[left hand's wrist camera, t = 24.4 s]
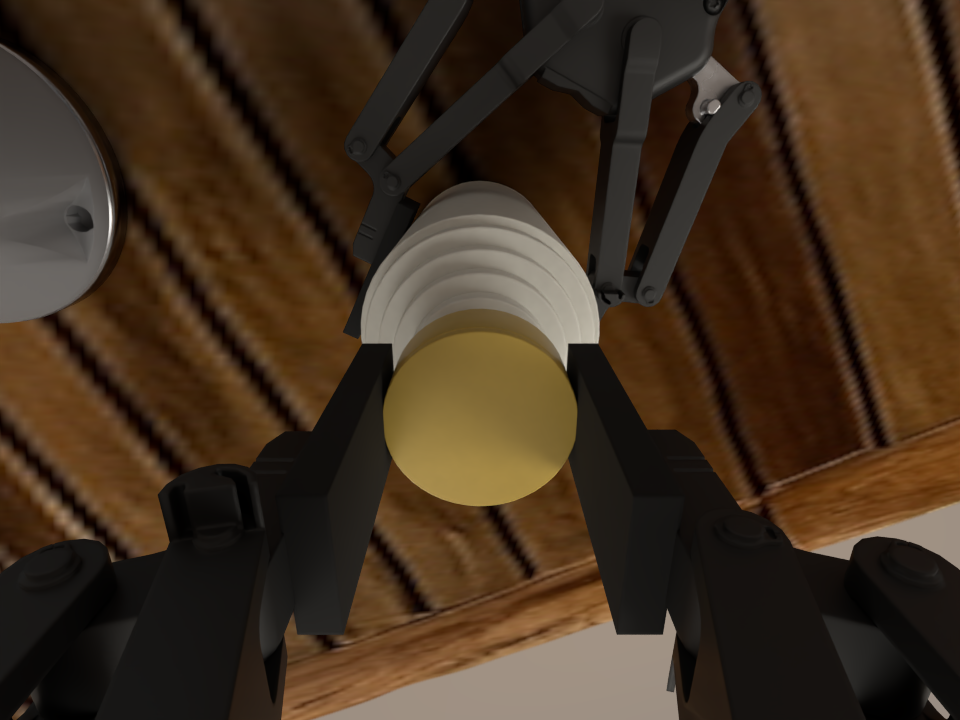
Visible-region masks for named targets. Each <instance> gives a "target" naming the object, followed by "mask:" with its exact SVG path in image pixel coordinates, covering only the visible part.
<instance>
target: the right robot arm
mask: <svg viewBox="0 0 960 720" xmlns="http://www.w3.org/2000/svg"><path fill="white" fill-rule="evenodd" d="M519 2H520V10H521V18H522V26H523V34H524V37H523V38H522V39H521V40H520V41H519V42H518V43H517V44H516V45H515V46H514V47H513V48H511V49H510V50H509V51H508V52H507V53H506V54H505V55H504V56H503V57H502V58H501V59H500V60H499V62H498V63H497V64H496V65H495V66H494V67H493V68H491V69H490V70H489V71H488V72H487V73H486V74H485V75H484V76H483V77H482V78H481V79H480V80H479V81H478V82H477V83H475V84H474V85H473V86H472V87H471V88H470V89H469V90H468V91H467V92H466V93H465V94H464V95H463V96H462V97H460V98H459V99H458V100H457V101H456V102H455V103H454V104H453V105H452V106H451V107H450V108H449V109H448V110H447V111H446V112H444V113H443V114H442V115H441V116H440V117H439V118H438V119H437V120H436V121H435V122H434V123H433V124H432V125H431V126H429V127H428V128H427V129H426V130H425V131H424V132H423V133H422V134H421V135H420V136H419V137H418V138H417V139H416V140H415V141H413V142H412V143H411V144H410V145H409V146H408V147H407V148H406V149H405V150H404V151H403V152H402V153H401V154H400V155H398V156H397V157H396V156H395V155H394V154H393V153H392V152H391V151H390V150H389V149H388V148H387V147H386V145H387V143H388V142H389V140H390V139H391V137H392V135H393V134H394V132H395V131H396V129H397V127H398V126H399V124H400V123H401V121H402V120H403V118H404V116H405V115H406V113H407V112H408V110H409V108H410V107H411V105H412V104H413V102H414V100H415V99H416V97H417V96H418V94H419V92H420V91H421V89H422V88H423V86H424V84H425V83H426V81H427V80H428V78H429V76H430V75H431V73H432V72H433V70H434V69H435V67H436V65H437V64H438V62H439V61H440V59H441V57H442V56H443V54H444V53H445V51H446V49H447V48H448V46H449V45H450V43H451V41H452V40H453V38H454V37H455V35H456V33H457V32H458V30H459V29H460V27H461V25H462V24H463V22H464V20H465V18H466V17H467V15H468V13H469V10H470V8H471V5H472V3H473V0H428V2H427V4H426V5H425V7H424V9H423V10H422V12H421V14H420V15H419V17H418V19H417V20H416V22H415V24H414V25H413V27H412V29H411V30H410V32H409V34H408V35H407V37H406V39H405V40H404V42H403V44H402V45H401V47H400V49H399V50H398V52H397V54H396V55H395V57H394V59H393V60H392V62H391V64H390V65H389V67H388V69H387V70H386V72H385V74H384V75H383V77H382V79H381V80H380V82H379V84H378V85H377V87H376V89H375V90H374V92H373V94H372V95H371V97H370V99H369V100H368V102H367V104H366V105H365V107H364V109H363V110H362V112H361V114H360V115H359V117H358V119H357V120H356V122H355V124H354V125H353V127H352V129H351V130H350V132H349V134H348V135H347V137H346V140H345V142H344V146H345V151H346V153H347V155H348V156H349V157H350V158H351V159H352V160H354V161H356V162H357V163H358V164H359V165H360V166H361V167H362V168H363V169H364V170H365V171H366V172H367V173H368V174H369V175H370V177H371V179H372V181H373V184H374V193H373V196H372V198H371V201H370V203H369V206H368V208H367V211H366V213H365V216H364V218H363V221H362V223H361V225H360V228H359V230H358V233H357V235H356V238H355V240H354V243H353V256H355V257H357V258H359V259H362V260H364V261H366V262H368V263H370V264H372V265H371V267H370V270H369V272H368V274H367V277H366V279H365V281H364V284H363V286H362V289H361V291H360V293H359V296H358V298H357V300H356V303H355V305H354V307H353V310H352V312H351V314H350V317H349V319H348V322H347V324H346V326H345V329H344V331H343V333H346V334H348V335H350V336H352V337H355V338H357V339H358V338H359V337H360V335H361V317H362V308H363V304H364V300H365V296H366V292H367V290H368V288H369V285H370V283H371V280H372V278H373V276H374V275H375V273H376V271H377V270H378V268H379V266H380V265H381V263H382V262H383V261H384V260H385V258H386V257H387V256H388V255H389V253H390V252H391V251H392V250H393V248H394V247H395V246H396V244H397V243H398V242H399V241H400V239H401V238H402V237H403V236H404V234H405V233H406V232H407V231H408V229H409V228H410V226H411V224H412V222H413V220H414V217H415V215H416V213H417V210H418V208H419V206H420V203H418V202H416V201H414V200H412V199H410V198H408V197H406V195H407V192H408V190H409V188H410V187H411V186H412V185H413V184H414V183H415V182H416V181H418V180H419V179H420V178H421V177H422V176H423V175H424V174H425V173H426V172H427V171H429V170H430V169H431V168H432V167H433V166H434V165H435V164H436V163H437V162H438V161H440V160H441V159H442V158H443V157H444V156H445V155H446V154H447V153H448V152H449V151H451V150H452V149H453V148H454V147H455V146H456V145H457V144H458V143H459V142H460V141H461V140H463V139H464V138H465V137H466V136H467V135H468V134H469V133H470V132H471V131H472V130H474V129H475V128H476V127H477V126H478V125H479V124H480V123H481V122H482V121H483V120H485V119H486V118H487V117H488V116H489V115H490V114H491V113H492V112H493V111H494V110H496V109H497V108H498V107H499V106H500V105H501V104H502V103H503V102H504V101H505V100H507V99H508V98H509V97H510V96H511V95H512V94H513V93H514V92H516V91H517V90H518V89H519V88H520V87H521V86H522V85H523V84H524V83H526V82H527V81H528V80H529V79H530V78H531V77H532V76H533V75H534V76H535V77H536V78H537V79H538V80H537V82H538V83H540V84H542V85H544V86H546V87H547V88H549V89H551V90H554V91H558V92H562V93H567V94H570V95H572V96H573V97H574V99H575V100H576V101H577V102H578V103H579V104H580V105H581V106H582V107H583V108H585V109H587V110H588V111H590V112H592V113H594V114H596V115H597V116H601V115H602V120H601V129H600V140H601V149H600V157H599V166H598V175H597V183H596V192H595V201H594V210H593V218H592V227H591V236H590V244H589V253H588V262H587V271H586V276H587V278H588V280H589V282H590V285H591V287H592V289H593V292H594V295H595V299H596V302H597V307H598V314H599V322H600V320H601V318H602V317H603V315H604V313H605V312H606V310H607V309H608V308H609V307H614V306H617V305H619V304H620V303H621V302H632V303H640V304H641V305H643V306H647V307H650V306H653V305H655V304H657V303H658V302H659V301H660V299H661V298H662V295H663V293H664V291H665V288H666V286H667V284H668V281H669V279H670V277H671V274H672V272H673V269H674V267H675V265H676V262H677V260H678V258H679V255H680V253H681V251H682V248H683V246H684V243H685V241H686V239H687V236H688V234H689V232H690V229H691V227H692V225H693V222H694V220H695V218H696V215H697V213H698V210H699V208H700V206H701V203H702V201H703V199H704V196H705V194H706V192H707V189H708V187H709V184H710V182H711V180H712V177H713V175H714V173H715V170H716V168H717V166H718V163H719V161H720V158H721V156H722V154H723V151H724V149H725V147H726V144H727V142H728V141H729V140H730V139H731V138H732V136H733V135H734V134H735V133H736V132H737V130H738V129H739V128H740V127H741V126H742V124H743V123H744V122H745V121H746V120H747V118H748V117H749V116H750V115H751V114H752V113H753V111H754V110H755V109H756V108H757V106H758V105H759V103H760V101H761V96H762V94H761V89H760V87H759V86H758V84H756V83H755V82H753V81H745V82H738V81H737V80H736V79H735V78H734V77H733V76H732V75H731V74H730V73H729V72H727V71H726V70H725V69H724V68H723V67H722V66H721V65H720V64H719V63H718V62H717V61H716V60H715V59H714V58H712V57H711V54H712V51H713V46H714V34H715V29H716V25H717V22H718V19H719V17H720V15H721V13H722V11H723V9H724V7H725V6H726V4H727V2H728V0H519ZM686 80H687V81H688V83H689V84H690V87H691V95H690V99H689V101H688V103H687V105H686V109H685V111H686V116H687V118H688V120H689V121H690V122H689V123H688V125H687V126H686V128H685V130H684V131H683V133H682V135H681V137H680V139H679V141H678V143H677V146H676V148H675V151H674V153H673V156H672V158H671V161H670V163H669V166H668V168H667V171H666V173H665V176H664V179H663V181H662V184H661V186H660V189H659V191H658V194H657V196H656V199H655V201H654V204H653V207H652V209H651V212H650V214H649V217H648V219H647V222H646V224H645V227H644V229H643V232H642V235H641V237H640V240H639V242H638V245H637V247H636V250H635V252H634V255H633V257H632V260H631V263H630V265H629V268H628V270H624V268H625V261H626V254H627V247H628V240H629V233H630V226H631V218H632V211H633V204H634V197H635V190H636V183H637V176H638V168H639V161H640V154H641V148H642V144H643V142H644V140H645V138H646V134H647V128H648V121H649V114H650V107H651V100H652V99H654V98H656V97H657V96H659V95H661V94H663V93H665V92H666V91H668V90H670V89H672V88H674V87H676V86H677V85H679V84H681V83H683V82H685V81H686Z"/></svg>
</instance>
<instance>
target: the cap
mask: <svg viewBox="0 0 960 720" xmlns="http://www.w3.org/2000/svg"><path fill="white" fill-rule="evenodd" d="M577 410H578V406H577V401H576V397H575V393H574V390H573V388H572V385H571V382H570V380H569V377H568V374H567V372H566V369H565V366H564V364H563V361H562V359H561V357H560V354H559V353H558V351H557V349H556V348H555V346H554V345H553V343H552V342H551V341H550V340H549V339H548V337H547V336H546V335H545V334H544V333H542V332H541V331H540V330H539V329H538V328H537V327H535V326H534V325H532V324H531V323H529V322H528V321H526V320H524V319H522V318H520V317H518V316H515V315H513V314H510V313H507V312H503V311H498V310H492V309H468V310H462V311H457V312H454V313H451V314H447V315H445V316H443V317H440V318H438V319H436V320H434V321H433V322H431V323H430V324H428V325H426V326H425V327H424V328H423V329H421V330H420V331H419V332H418V333H417V334H416V335H415V336H414V337H413V338H412V339H411V340H410V341H409V343H408V344H407V346H406V347H405V348H404V350H403V352H402V354H401V356H400V358H399V360H398V362H397V365H396V368H395V370H394V373H393V376H392V378H391V381H390V384H389V386H388V389H387V392H386V395H385V398H384V403H383V420H384V434H385V441H386V445H387V447H388V449H389V452H390V454H391V456H392V458H393V459H394V461H395V463H396V464H397V466H398V467H399V468H400V469H401V471H402V472H403V473H404V474H405V475H406V476H407V477H408V478H409V479H410V480H411V481H412V482H413V483H415V484H416V485H417V486H419V487H420V488H421V489H423V490H425V491H426V492H428V493H430V494H432V495H434V496H436V497H438V498H441V499H443V500H446V501H450V502H453V503H458V504H463V505H472V506H490V505H497V504H503V503H507V502H511V501H514V500H517V499H520V498H522V497H525V496H527V495H529V494H530V493H532V492H534V491H536V490H537V489H539V488H540V487H542V486H543V485H545V484H546V483H547V482H548V481H549V480H550V479H552V478H553V477H554V476H555V475H556V473H557V472H558V471H559V470H560V469H561V468H562V466H563V465H564V463H565V462H566V460H567V459H568V457H569V455H570V453H571V451H572V449H573V446H574V443H575V438H576V425H577Z"/></svg>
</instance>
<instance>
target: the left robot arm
mask: <svg viewBox="0 0 960 720" xmlns="http://www.w3.org/2000/svg"><path fill="white" fill-rule="evenodd" d="M126 229H127V200H126V192H125V187H124V182H123V177H122V174H121V171H120V168H119V164H118V161H117V159H116V156H115V154H114V151H113V149H112V147H111V145H110V143H109V141H108V139H107V137H106V135H105V133H104V131H103V130H102V128H101V126H100V125H99V123H98V121H97V120H96V118H95V117H94V115H93V114H92V113H91V111H90V110H89V108H88V107H87V106H86V104H85V103H84V102H83V101H82V100H81V98H80V97H79V96H78V95H77V94H76V92H75V91H74V90H73V89H72V88H71V87H70V86H69V85H68V84H67V83H66V82H65V81H64V80H63V79H62V78H61V77H60V76H58V75H57V74H56V73H55V72H54V71H53V70H52V69H51V68H49V67H48V66H47V65H45V64H44V63H43V62H41V61H40V60H39V59H37V58H36V57H34V56H33V55H31V54H30V53H28V52H27V51H25V50H24V49H22V48H20V47H18V46H16V45H14V44H13V43H11V42H9V41H7V40H5V39H2V38H0V323H10V322H19V321H27V320H32V319H37V318H41V317H44V316H47V315H50V314H52V313H55V312H57V311H60V310H62V309H65V308H67V307H69V306H72V305H74V304H76V303H78V302H80V301H82V300H83V299H85V298H87V297H88V296H89V295H91V294H92V293H93V292H95V291H96V290H97V289H98V288H99V287H100V286H101V285H102V284H103V283H104V281H105V280H106V279H107V278H108V276H109V275H110V274H111V272H112V270H113V269H114V267H115V265H116V263H117V261H118V259H119V257H120V254H121V251H122V248H123V245H124V240H125V235H126ZM566 372H567V374H568V377H569V380H570V382H571V385H572V388H573V390H574V393H575V397H576V401H577V406H578V410H577V425H576V438H575V443H574V446H573V449H572V451H571V453H570V455H569V457H568V459H569V462H570V466H571V470H572V473H573V477H574V481H575V484H576V488H577V492H578V495H579V499H580V502H581V506H582V510H583V513H584V517H585V521H586V524H587V528H588V531H589V535H590V539H591V542H592V546H593V550H594V553H595V557H596V560H597V564H598V568H599V571H600V575H601V579H602V582H603V586H604V589H605V593H606V597H607V600H608V604H609V608H610V611H611V615H612V619H613V622H614V626H615V629H616V633H617V635H618V634H619V635H623V634H624V635H625V634H629V635H637V634H638V635H650V634H651V635H662V634H663V630H664V624H665V618H666V611H667V609H668V611H669V614H670V616H671V619H672V621H673V624H674V626H675V629H676V631H677V632H676V638H675V644H674V649H673V655H672V661H671V667H670V672H669V678H668V685H667V691H670V692H674V688H675V684H676V694H677V704H678V713H679V720H960V570H959V569H958V568H957V567H955V566H954V565H952V564H951V563H950V562H948V561H947V560H945V559H944V558H943V557H941V556H940V555H938V554H936V553H934V552H932V551H929V550H927V549H925V548H923V547H922V546H920V545H917V544H914V543H911V542H906V541H904V540H900V539H896V538H887V537H878V536H877V537H870V538H864V539H861V540H860V541H859V542H858V543H857V544H855V545H854V547H853V550H852V554H851V557H850V560H845V559H840V558H835V557H830V556H826V555H821V554H816V553H812V552H807V551H804V550H800V549H796V548H793V547H792V544H791V542H790V540H789V539H788V538H787V536H786V535H785V533H784V532H783V531H782V530H781V529H780V528H779V527H777V526H776V525H775V524H773V523H772V522H771V521H769V520H768V519H765V518H763V517H761V516H759V515H756V514H754V513H752V512H748V511H744V510H742V509H741V508H740V507H739V505H738V504H737V502H736V501H735V499H734V498H733V497H732V495H731V494H730V492H729V491H728V490H727V488H726V487H725V485H724V484H723V482H722V481H721V480H720V478H719V477H718V475H717V474H716V473H715V472H713V468H712V467H711V465H710V464H709V463H708V461H707V460H705V459H704V456H703V454H702V453H701V451H700V450H699V448H698V447H697V446H696V444H695V443H694V442H693V441H691V440H690V439H688V438H687V437H685V436H684V435H682V434H681V433H680V432H678V431H677V430H647V428H646V427H645V425H644V423H643V421H642V420H641V418H640V416H639V414H638V413H637V411H636V409H635V407H634V406H633V404H632V402H631V400H630V399H629V397H628V395H627V394H626V392H625V390H624V388H623V387H622V385H621V383H620V381H619V380H618V378H617V376H616V374H615V373H614V371H613V369H612V367H611V366H610V364H609V362H608V360H607V359H606V357H605V355H604V353H603V352H602V350H601V348H600V347H599V345H598V343H568V355H567V371H566ZM393 373H394V365H393V349H392V343H363V344H362V345H361V347H360V349H359V351H358V352H357V354H356V356H355V358H354V359H353V361H352V363H351V365H350V366H349V368H348V370H347V372H346V373H345V375H344V377H343V378H342V380H341V382H340V384H339V385H338V387H337V389H336V391H335V392H334V394H333V396H332V398H331V399H330V401H329V403H328V405H327V406H326V408H325V410H324V412H323V413H322V415H321V417H320V419H319V420H318V422H317V424H316V425H315V427H314V429H313V431H296V432H284V433H282V434H281V435H279V436H278V437H276V438H275V439H273V440H272V441H270V442H269V443H267V444H266V446H265V447H264V448H263V450H262V451H261V453H260V454H259V456H258V457H257V458H256V462H254V463H253V464H252V466H251V467H250V468H248V467H245V466H241V465H237V464H216V465H211V466H206V467H201V468H198V469H195V470H192V471H190V472H187V473H185V474H182V475H180V476H179V477H177V478H176V479H174V480H173V481H171V482H169V483H168V484H166V486H165V487H164V488H163V489H162V490H161V492H160V493H159V494H158V498H159V502H160V505H161V509H162V513H163V517H164V521H165V525H166V529H167V533H168V537H169V541H170V543H169V545H168V548H167V550H165V551H162V552H158V553H155V554H151V555H146V556H141V557H136V558H132V559H127V560H122V561H117V562H113V563H112V562H111V559H110V555H109V552H108V549H107V547H105V546H104V545H103V544H102V543H101V542H99V541H95V540H89V539H78V540H69V541H63V542H59V543H55V544H53V545H52V544H51V545H48V546H45V547H43V548H40V549H39V550H37V551H35V552H33V553H31V554H29V555H27V556H24V557H22V558H21V559H19V560H18V561H17V562H15V563H14V564H12V565H11V566H10V567H8V568H7V569H5V570H4V571H3V572H2V573H1V574H0V720H13V719H12V716H13V715H14V714H15V712H16V711H17V710H18V709H19V708H20V706H21V705H22V704H23V703H24V701H25V700H26V699H27V698H28V697H29V695H30V694H31V696H32V699H33V701H34V702H33V703H32V704H31V705H30V707H29V708H28V709H27V710H26V711H25V713H24V714H22V715H21V716H20V717H19V718H18V719H17V720H281V715H282V705H283V695H284V686H285V676H286V666H287V650H286V644H285V638H284V633H285V630H286V628H287V625H288V623H289V620H290V617H291V615H292V612H293V610H294V616H295V622H296V628H297V634H298V635H343V634H344V631H345V627H346V623H347V620H348V616H349V613H350V609H351V605H352V602H353V598H354V594H355V591H356V587H357V583H358V580H359V576H360V573H361V569H362V565H363V562H364V558H365V554H366V551H367V547H368V544H369V540H370V536H371V533H372V529H373V525H374V522H375V518H376V514H377V511H378V507H379V504H380V500H381V496H382V493H383V489H384V485H385V482H386V478H387V475H388V471H389V467H390V464H391V460H392V456H391V454H390V452H389V449H388V447H387V445H386V441H385V434H384V420H383V403H384V398H385V395H386V392H387V389H388V386H389V384H390V381H391V378H392V376H393ZM931 692H932V693H933V694H934V696H935V697H936V698H937V699H938V700H939V702H940V703H941V704H942V705H943V706H944V708H945V709H946V710H947V711H948V713H949V714H950V716H949V718H948V719H945V718H944V717H943V716H942V715H941V714H940V713H939V712H938V711H937V710H936V709H935V708H934V707H933V705H932V704H931V703H930V702H929V700H928V697H929V695H930V693H931Z"/></svg>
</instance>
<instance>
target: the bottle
mask: <svg viewBox="0 0 960 720" xmlns="http://www.w3.org/2000/svg"><path fill="white" fill-rule="evenodd" d="M468 309H492V310H498V311H503V312H507V313H510V314H513V315H515V316H518V317H520V318H522V319H524V320H526V321H528V322H529V323H531V324H532V325H534V326H535V327H537V328H538V329H539V330H540V331H541V332H542V333H544V334H545V335H546V336H547V337H548V339H549V340H550V341H551V342H552V343H553V345H554V346H555V348H556V349H557V351H558V353H559V354H560V357H561V359H562V361H563V364H564V366H565V369H566V371H567V355H568V343H598V340H599V314H598V307H597V302H596V299H595V295H594V292H593V289H592V287H591V285H590V282H589V280H588V278H587V276H586V274H585V273H584V271H583V269H582V268H581V266H580V264H579V263H578V262H577V260H576V259H575V258H574V257H573V255H572V254H571V253H570V252H569V250H568V249H567V248H566V247H565V245H564V244H563V243H562V242H561V240H560V239H559V238H558V237H557V235H556V234H555V233H554V232H553V230H552V229H551V228H550V226H549V225H548V224H547V223H546V221H545V220H544V219H543V218H542V216H541V215H540V214H539V213H538V211H537V210H536V209H535V208H534V207H533V205H532V204H531V203H530V202H529V201H528V200H527V199H526V198H525V197H524V196H522V195H521V194H520V193H518V192H517V191H515V190H513V189H511V188H509V187H507V186H505V185H502V184H499V183H494V182H489V181H471V182H466V183H461V184H458V185H456V186H453V187H451V188H449V189H447V190H445V191H443V192H442V193H441V194H439V195H438V196H436V197H435V198H434V199H433V200H432V201H431V202H430V203H429V204H428V205H427V207H426V208H425V209H424V210H423V212H422V213H421V214H420V215H419V217H418V218H417V219H416V220H415V222H414V223H413V224H412V226H411V227H410V228H409V229H408V231H407V232H406V233H405V234H404V236H403V237H402V238H401V239H400V241H399V242H398V243H397V244H396V246H395V247H394V248H393V250H392V251H391V252H390V253H389V255H388V256H387V257H386V258H385V260H384V261H383V262H382V263H381V265H380V266H379V268H378V270H377V271H376V273H375V275H374V276H373V278H372V280H371V283H370V285H369V288H368V290H367V292H366V296H365V300H364V304H363V308H362V317H361V339H362V344H363V343H392V349H393V365H394V370H395V368H396V365H397V362H398V360H399V358H400V356H401V354H402V352H403V350H404V348H405V347H406V346H407V344H408V343H409V341H410V340H411V339H412V338H413V337H414V336H415V335H416V334H417V333H418V332H419V331H420V330H421V329H423V328H424V327H425V326H426V325H428V324H430V323H431V322H433V321H434V320H436V319H438V318H440V317H443V316H445V315H447V314H451V313H454V312H457V311H462V310H468Z"/></svg>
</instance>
